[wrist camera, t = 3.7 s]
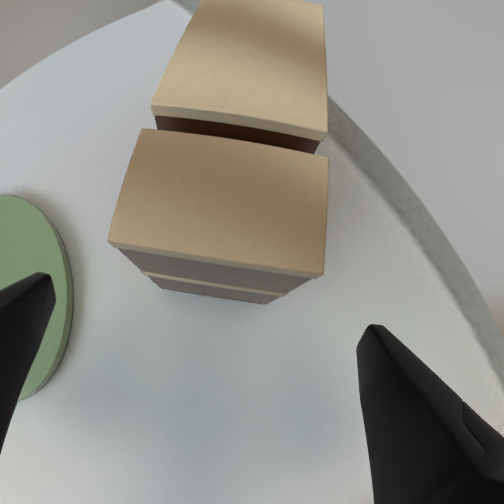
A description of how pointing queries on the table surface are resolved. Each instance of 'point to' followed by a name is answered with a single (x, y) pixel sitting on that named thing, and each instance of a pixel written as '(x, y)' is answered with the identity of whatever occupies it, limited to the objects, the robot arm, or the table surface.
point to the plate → (29, 262)
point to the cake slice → (222, 215)
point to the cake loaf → (249, 74)
